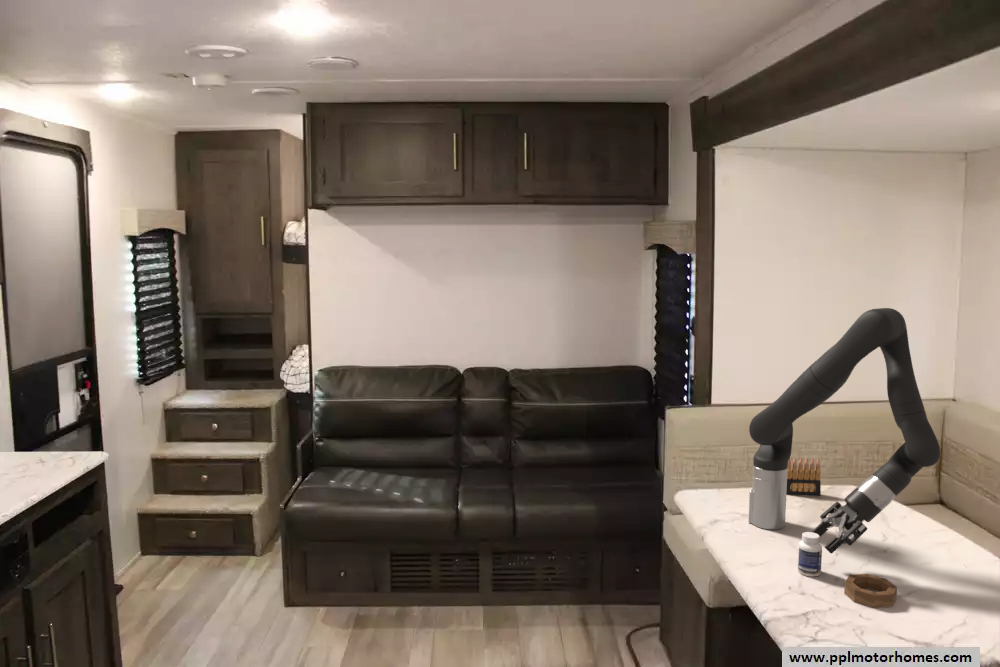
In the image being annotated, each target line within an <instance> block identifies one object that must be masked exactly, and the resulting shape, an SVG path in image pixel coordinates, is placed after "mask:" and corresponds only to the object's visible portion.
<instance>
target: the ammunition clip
mask: <svg viewBox="0 0 1000 667" xmlns="http://www.w3.org/2000/svg"><path fill="white" fill-rule="evenodd" d="M797 463H798V464H797ZM809 465H810V466H809ZM815 465H816V466H815ZM821 474H822V471H821V460H820V458H817V460H816V464H815V459H814V457H812V459H811V460H810V464H809V459H808V457H806V458H805V461H804V463H803V458H802V457H800V459H799V461H798V462H797V458H796V457H794V458H793V462H792V461H791V458H790V459H789V461H788V470H787V493H786V496H788V495H789V496H811V497H812V496H813V497H821V494H822V493H821V492H822V490H821V489H822V488H821V477H822V476H821Z"/></svg>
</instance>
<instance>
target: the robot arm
mask: <svg viewBox="0 0 1000 667" xmlns="http://www.w3.org/2000/svg"><path fill="white" fill-rule="evenodd" d="M877 348H880V350H881V353H882V354H883V358H884V362H885V367H886V389H887V390H886V391H887V398H888V402H889V406H890V409H891V413H892V416H893V418H894V422H895V423H896V425H897V427H898V428H899V429H900V431H901V433H902V436H903V439H904V442H903V443H902V444H901V445H900V446H899V448H897V450H896V451H895V452H894V453H893V454H892V456H891V457H890V458H889V459H888V460H887V462H885V463H884V464H883V465H881V466H880V467H879V468H878V469H877V470H875V472H874V473H872V475H870V476H869V477H867V478H866V479H864V480H863V481H862V482H860V484H859V485H857V487H856V488H854V489H853V490H852V491H851V492H850V493H849V494H848V495H846V497H845V498H844V502H845V505H843V504H841V503H840V502H839V501H836V502H835V503H833V504H832V505H831V506H830V507H828V509H826V510H825V511H824V512H823V513H821V515H820V516H819V517H820V519H821V521H820V523H819V524H818V525H817V526H816V527H815V528H814V529H813V530H812V531H811V532H813V533H816V534H818V535H819V536H820V538H821V537H822V536H823V535H824V534H825V533H826V532H828V531H829V529H830V528H834V527H835V528H838V532H837V534H836V536H834V537H833V538H832V539H830V541H829V542H828V543H826V544H825V546H824V548H825V550H826V551H828V553H829V554H834V553H835V551H837V550H838V549H839V548H840V547H842V545H848V546H852V545H853V544H854V543H855V542H856V541H857V540H858V539H860V537H861V536H863V534H864V533H865V532H866V531H867V530H868V527H867V526H866V524H864V523H863V522H864V521H865V522H867V523H870V522H871V521H872V520H874V519H875V518H876V516H878V515H879V514H880V513H881V512H882V511H883V510H885V508H886V507H888V506H889V505H890V504H891V503H892V502H893V500H895V498H896V497H897V496H898V495H899V494H900V493H901V492H903V490H905V489H906V488H907V487H908V486H909V485H910V484H911V481H912V478H913V477H914V476H915V475H916V474H917V473H918V472H919V471H921V470H922V469H923V468H929V467H932V466H934V465H936V464H937V463H938V462H939V460H940V459H941V458H940V457H941V446H940V443H939V440H938V438H937V436H936V434H935V432H934V430H933V427H932V425H931V423H930V422H929V420H928V419H929V418H928V416H927V413H926V409H925V406H924V403H923V400H922V396H921V393H920V390H919V387H918V383H917V380H916V376H915V371H914V366H913V361H912V356H911V351H910V343H909V335H908V329H907V324H906V321H905V317H904V316H903V314H902V313H901V312H900V311H898V310H897V309H894V308H891V307H884V308H883V307H881V308H871V309H868V310H867V311H864V312H863V313H862V314H861V315H860V316H858V318H857V319H856V320H855V321H854V323H853V324H852V325H851V326H850V327H849V328H848V330H847V331H846V332H845V333H844V334H843V335H842V337H841V338H840V339H838V341H837V342H836V343H835V344H833V345H832V346H831V347H830V348H829V349H828V350H826V351H825V352H824V353H823V354H822V355H821V356H820V357H819V358H818V359H817V360H815V361H814V362H812V364H810V366H808V367H807V368H806V369H805V371H803V372H802V373H800V375H799V376H798V377H797V378H796V379H795V380H794V381H793V382H792V383H791V384H790V385H789V386H788V387H787V388H786V390H785V391H784V392H783V393H781V395H779V397H778V398H777V399H775V401H773V402H772V403H771V404H769V405H768V406H767V407H765V409H763V410H762V411H760V412H758V413H757V414H756V415H755V416H753V417H752V419H751V421H750V423H749V426H748V429H749V430H748V431H749V435H750V436H749V437H750V438H751V439H752V441H753V442H755V443H756V444H758V445H759V447H758V449H757V451H756V452H755V453H754V456H753V461H752V462H753V463H752V466H753V467H752V489H751V490H750V491H749V498H748V499H749V505H748V524H752V525H753V526H755V527H758V528H760V529H764V530H781V529H783V528H785V526H786V518H787V517H786V516H787V515H786V510H787V495H786V493H787V470H788V461H789V459H790V460H791V455H792V449H793V448H792V447H793V436H794V426H793V425H794V424H793V423H794V422H795V421H797V420H798V419H799V418H801V417H802V416H804V415H806V414H807V413H809V412H811V411H812V410H814V409H815V408H817V407H819V406H820V405H822V404H823V403H824V402H826V401H827V400H828V399H830V398H831V397H833V395H835V394H836V392H838V391H839V390H840V389H841V388H842V387H843V386H844V385H845V384H846V382H847V381H848V379H849V378H850V376H851V374H852V372H853V370H854V369H855V368H856V367H857V365H858V364H859V363H860V362H861V361H862V360H864V359H865V357H867V356H868V355H870V354H871V353H872V352H874V351H875V350H876V349H877Z"/></svg>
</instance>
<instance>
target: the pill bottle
mask: <svg viewBox="0 0 1000 667" xmlns="http://www.w3.org/2000/svg"><path fill="white" fill-rule="evenodd" d="M801 534H802V535H801V540H800V542H799V543H798V550H797V551H798V552H797V553H798V554H797V571H798V573H799V574H801V575H803V576H807V577H818V576H820V575H821V574H822V573H821V572H822V557H823V546H822V544H821V543H820V541H821V540H820V539H821V537H820V536H819V535H818V534H816V533H813V532H812V531H806V532H802V533H801Z"/></svg>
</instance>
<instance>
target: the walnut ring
mask: <svg viewBox="0 0 1000 667" xmlns="http://www.w3.org/2000/svg"><path fill="white" fill-rule="evenodd" d="M843 592H844V593H843V594H844V595H846V596H847V598H849V600H851V602H854V603H856V604H859V605H862V606H865V607H871V608H874V609H878V608H889V607H890V608H892V607H893V606H894V604H895V602H896V601H897V596H898V586H897V585H895V584H894V583H893V582H891V581H890V580H889V579H888V578H884V577H881V576H876V575H874V574H870V573H857V574H855V573H853V574H849V576H847V578H846V579H845V580H844V591H843Z"/></svg>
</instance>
